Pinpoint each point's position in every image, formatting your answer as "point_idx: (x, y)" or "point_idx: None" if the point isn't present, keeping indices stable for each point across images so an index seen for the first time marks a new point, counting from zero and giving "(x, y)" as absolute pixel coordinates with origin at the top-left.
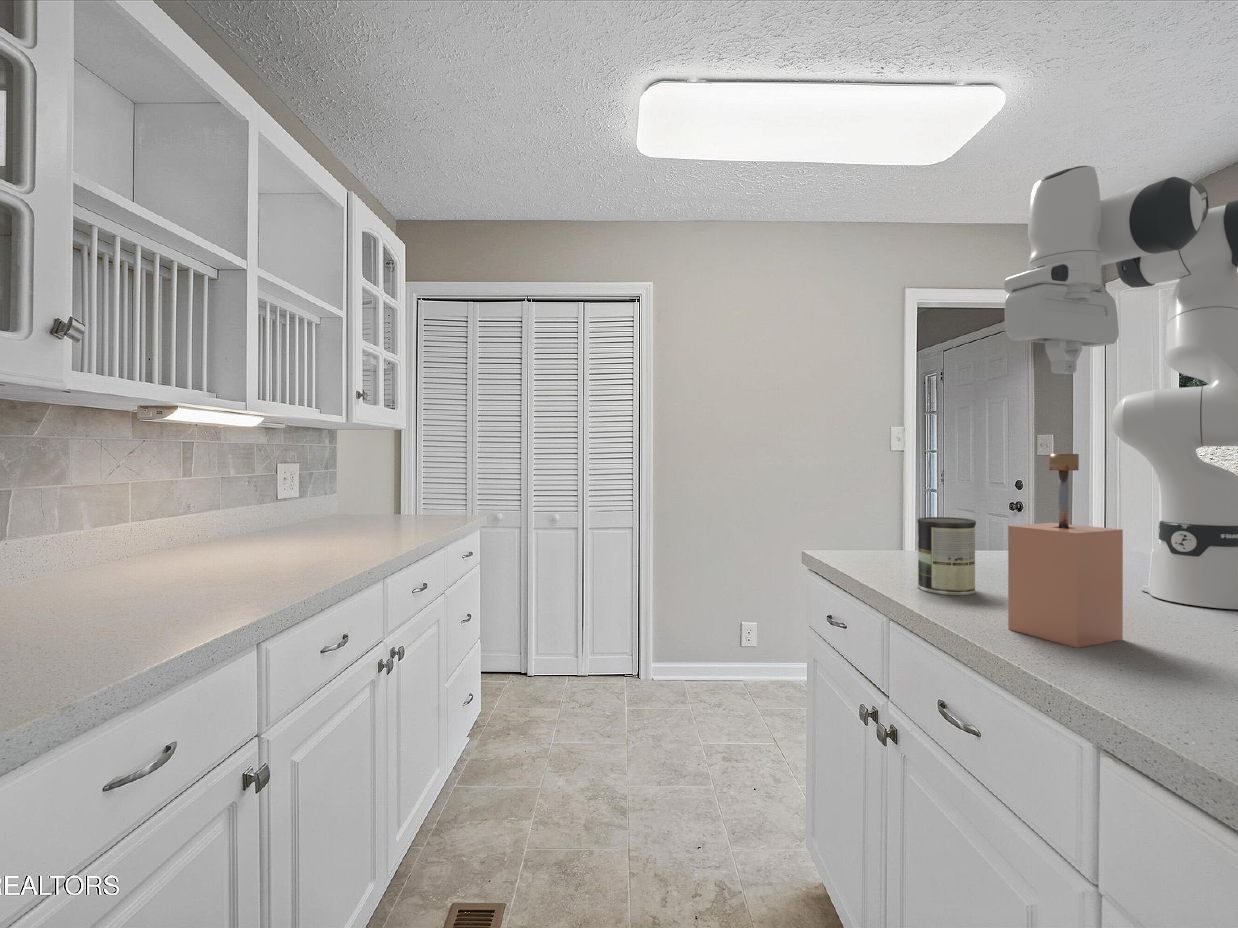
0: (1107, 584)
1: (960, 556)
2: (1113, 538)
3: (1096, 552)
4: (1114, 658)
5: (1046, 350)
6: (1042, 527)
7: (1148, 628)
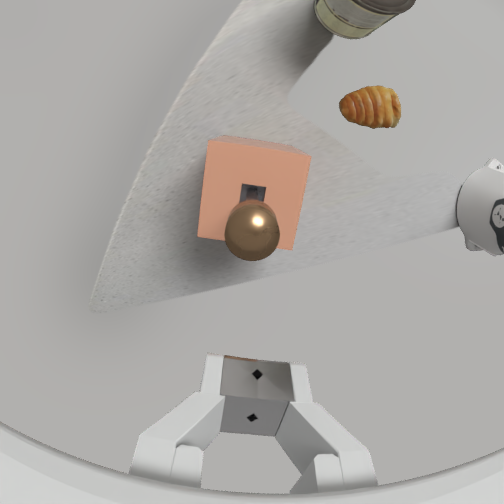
0: None
1: (345, 18)
2: None
3: None
4: None
5: (142, 436)
6: (228, 179)
7: (343, 207)
